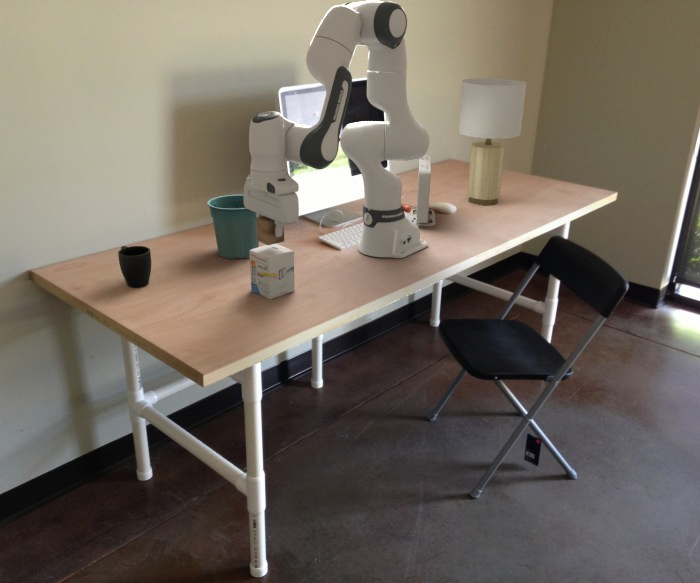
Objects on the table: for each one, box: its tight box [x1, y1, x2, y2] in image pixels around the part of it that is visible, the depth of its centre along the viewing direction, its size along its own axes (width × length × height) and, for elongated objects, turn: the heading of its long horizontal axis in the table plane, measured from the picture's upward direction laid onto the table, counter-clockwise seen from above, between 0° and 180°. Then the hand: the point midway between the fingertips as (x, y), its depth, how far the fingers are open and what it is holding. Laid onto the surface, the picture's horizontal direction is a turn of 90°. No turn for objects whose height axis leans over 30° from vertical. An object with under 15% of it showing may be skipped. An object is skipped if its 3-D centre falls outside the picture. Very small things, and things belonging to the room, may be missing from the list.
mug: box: [117, 245, 152, 289], centre depth 183 cm, size 8×12×10 cm
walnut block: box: [256, 216, 285, 245], centre depth 173 cm, size 5×5×6 cm
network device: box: [409, 154, 436, 227], centre depth 237 cm, size 26×9×20 cm, turn 175°
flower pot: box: [207, 194, 260, 260], centre depth 203 cm, size 16×16×16 cm
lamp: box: [458, 77, 527, 206], centre depth 253 cm, size 23×23×44 cm
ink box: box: [249, 243, 296, 300], centre depth 178 cm, size 9×8×12 cm
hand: (270, 233), depth 174 cm, fingers closed on walnut block, 5 cm apart
